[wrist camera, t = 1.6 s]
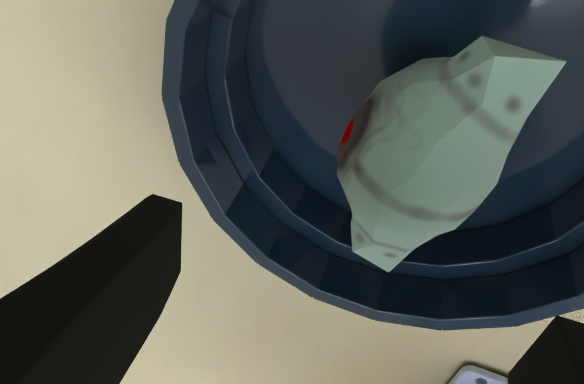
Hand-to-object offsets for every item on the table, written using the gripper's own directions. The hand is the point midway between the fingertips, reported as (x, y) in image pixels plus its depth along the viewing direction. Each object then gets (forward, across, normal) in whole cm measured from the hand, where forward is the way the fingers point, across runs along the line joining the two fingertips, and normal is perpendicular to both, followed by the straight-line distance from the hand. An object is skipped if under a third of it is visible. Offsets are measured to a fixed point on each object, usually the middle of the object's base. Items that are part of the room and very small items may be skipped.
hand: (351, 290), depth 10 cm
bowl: (+10, -1, 0) cm, 10 cm away
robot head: (+10, -1, 0) cm, 10 cm away
